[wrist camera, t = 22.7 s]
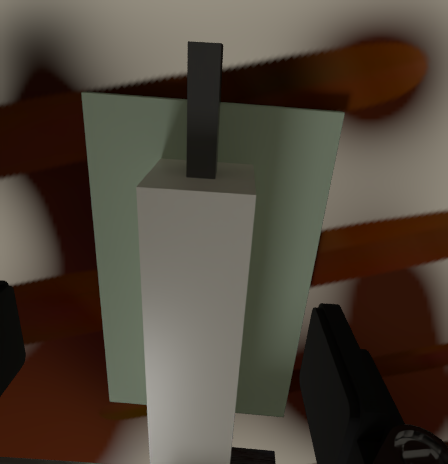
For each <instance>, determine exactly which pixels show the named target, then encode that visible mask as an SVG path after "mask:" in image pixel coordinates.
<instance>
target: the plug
mask: <svg viewBox="0 0 448 464" xmlns="http://www.w3.org/2000/svg"><path fill="white" fill-rule="evenodd" d="M222 59H223V44H221V43H205V42H188V75H187V160H178V159H163V158H161V159H160V160H159V161H158V162H157V163H156V165H155V166H154V167H153V168H152V169H151V170H150V172H149V173H148V174H147V175H146V176H145V177H144V178H143V180H142V181H141V182H140V183H139V184H138V185H137V187H136V193H137V213H138V234H139V254H140V274H141V294H142V314H143V334H144V354H145V374H146V394H147V414H148V434H149V454H150V464H230V458H231V448H232V438H233V427H234V417H235V407H236V397H237V387H238V376H239V366H240V356H241V346H242V336H243V325H244V315H245V305H246V295H247V285H248V274H249V264H250V254H251V244H252V234H253V223H254V213H255V203H256V187H255V177H254V166H253V164H238V163H223V162H218V142H219V122H220V101H221V80H222Z"/></svg>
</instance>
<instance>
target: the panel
mask: <svg viewBox="0 0 448 464" xmlns="http://www.w3.org/2000/svg"><path fill="white" fill-rule="evenodd" d="M230 464H275V452H274V451H267V450H257V449H246V448H235V447H232V448H231V458H230Z"/></svg>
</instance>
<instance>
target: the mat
mask: <svg viewBox="0 0 448 464" xmlns="http://www.w3.org/2000/svg"><path fill="white" fill-rule="evenodd" d="M81 94H82V105H83V116H84V127H85V138H86V148H87V159H88V169H89V181H90V192H91V202H92V214H93V223H94V235H95V246H96V257H97V268H98V279H99V290H100V300H101V311H102V322H103V333H104V343H105V353H106V354H105V355H106V366H107V376H108V387H109V398H110V401H111V402H122V403H133V404H144V405H147V394H146V374H145V354H144V334H143V314H142V294H141V274H140V254H139V234H138V213H137V193H136V187H137V185H138V184H139V183H140V182H141V181H142V180H143V178H144V177H145V176H146V175H147V174H148V173H149V172H150V170H151V169H152V168H153V167H154V166H155V165H156V163H157V162H158V161H159V160H160V159H161V158H163V159H178V160H187V99H176V98H163V97H150V96H137V95H124V94H111V93H99V92H81ZM344 114H345V113H344V112H342V111H330V110H317V109H304V108H291V107H278V106H266V105H253V104H240V103H227V102H220V122H219V142H218V162H223V163H238V164H253V166H254V177H255V187H256V203H255V213H254V223H253V234H252V244H251V254H250V264H249V274H248V285H247V295H246V305H245V315H244V325H243V336H242V346H241V356H240V366H239V376H238V387H237V397H236V407H235V413H245V414H255V415H266V416H276V417H284V412H285V407H286V402H287V397H288V392H289V387H290V382H291V377H292V372H293V367H294V362H295V357H296V352H297V347H298V343H299V338H300V333H301V328H302V323H303V318H304V312H305V308H306V303H307V298H308V293H309V288H310V283H311V278H312V273H313V268H314V263H315V258H316V253H317V248H318V243H319V238H320V233H321V229H322V224H323V219H324V214H325V208H326V204H327V199H328V194H329V189H330V184H331V178H332V174H333V169H334V164H335V159H336V154H337V149H338V144H339V139H340V134H341V129H342V124H343V119H344Z"/></svg>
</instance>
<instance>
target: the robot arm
mask: <svg viewBox="0 0 448 464" xmlns="http://www.w3.org/2000/svg"><path fill="white" fill-rule="evenodd" d="M25 356H26V353H25V348H24V342H23V337H22V332H21V326H20V321H19V315H18V310H17V305H16V299H15V294H14V289H13V287H12V286H9V284H8V283H7V282H5V281H0V396H1V395H2V393H3V392H4V390H5V389H6V388H7V387H8V385H9V384H10V383H11V381H12V380H13V378H14V377H15V376H16V374H17V373H18V372H19V370H20V369H21V367H22V366H23V364H24V362H25ZM300 388H301V392H302V397H303V401H304V406H305V410H306V415H307V420H308V424H309V429H310V433H311V438H312V442H313V447H314V452H315V457H316V461H317V464H448V446H447V445H446V444H445V443H444V442H443V441H442V440H441V439H439V438H438V437H437V436H435V435H434V434H433V433H431V432H429V431H427V430H425V429H423V428H421V427H417V426H413V425H405V423H404V421H403V419H402V417H401V415H400V413H399V411H398V409H397V407H396V405H395V403H394V401H393V399H392V397H391V395H390V393H389V391H388V389H387V387H386V385H385V383H384V381H383V379H382V377H381V375H380V373H379V371H378V369H377V367H376V365H375V363H374V361H373V359H372V357H371V355H370V353H369V352H368V351H367V350H365V349H360V347H359V345H358V343H357V341H356V339H355V337H354V335H353V333H352V330H351V328H350V326H349V324H348V322H347V320H346V318H345V315H344V313H343V312H342V309H341V307H340V305H338V304H337V305H336V304H323V303H321V304H320V305H319V307H318V308H313V310H312V314H311V319H310V324H309V330H308V335H307V340H306V345H305V350H304V355H303V360H302V365H301V370H300ZM0 464H99V463H84V462H70V461H56V460H41V459H26V458H10V457H0Z"/></svg>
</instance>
